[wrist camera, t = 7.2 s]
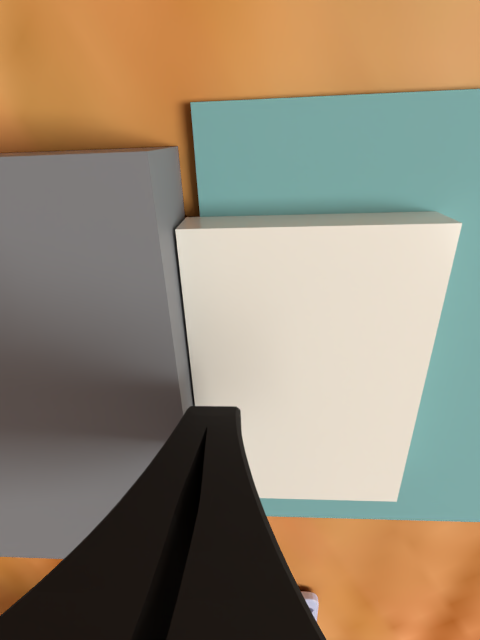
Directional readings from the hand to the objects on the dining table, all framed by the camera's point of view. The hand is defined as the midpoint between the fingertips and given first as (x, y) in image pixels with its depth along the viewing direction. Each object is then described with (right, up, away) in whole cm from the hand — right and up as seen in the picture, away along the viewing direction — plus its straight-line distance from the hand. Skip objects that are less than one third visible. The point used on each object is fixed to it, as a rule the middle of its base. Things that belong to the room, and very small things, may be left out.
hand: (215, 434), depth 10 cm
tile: (+3, +2, +3) cm, 4 cm away
